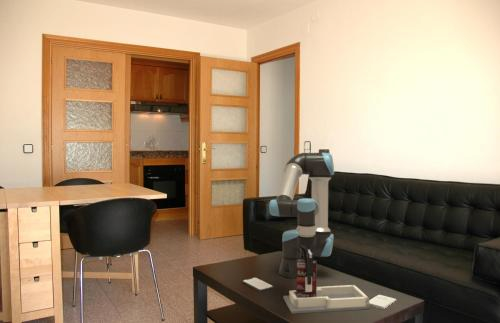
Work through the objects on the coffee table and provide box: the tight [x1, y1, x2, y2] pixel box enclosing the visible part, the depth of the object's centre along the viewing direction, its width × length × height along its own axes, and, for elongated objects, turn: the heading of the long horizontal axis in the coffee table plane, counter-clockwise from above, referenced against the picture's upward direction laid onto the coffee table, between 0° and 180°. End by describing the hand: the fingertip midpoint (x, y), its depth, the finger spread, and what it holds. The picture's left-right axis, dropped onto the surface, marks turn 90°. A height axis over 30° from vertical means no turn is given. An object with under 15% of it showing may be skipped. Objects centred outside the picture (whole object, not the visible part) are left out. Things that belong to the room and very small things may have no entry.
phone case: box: [242, 277, 275, 292], centre depth 195 cm, size 9×2×16 cm
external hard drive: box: [369, 294, 397, 310], centre depth 172 cm, size 2×8×12 cm
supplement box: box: [295, 259, 318, 298], centre depth 171 cm, size 9×5×16 cm, turn 81°
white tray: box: [282, 284, 371, 314], centre depth 172 cm, size 17×33×4 cm, turn 97°
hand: (306, 288), depth 171 cm, fingers closed on supplement box, 6 cm apart
